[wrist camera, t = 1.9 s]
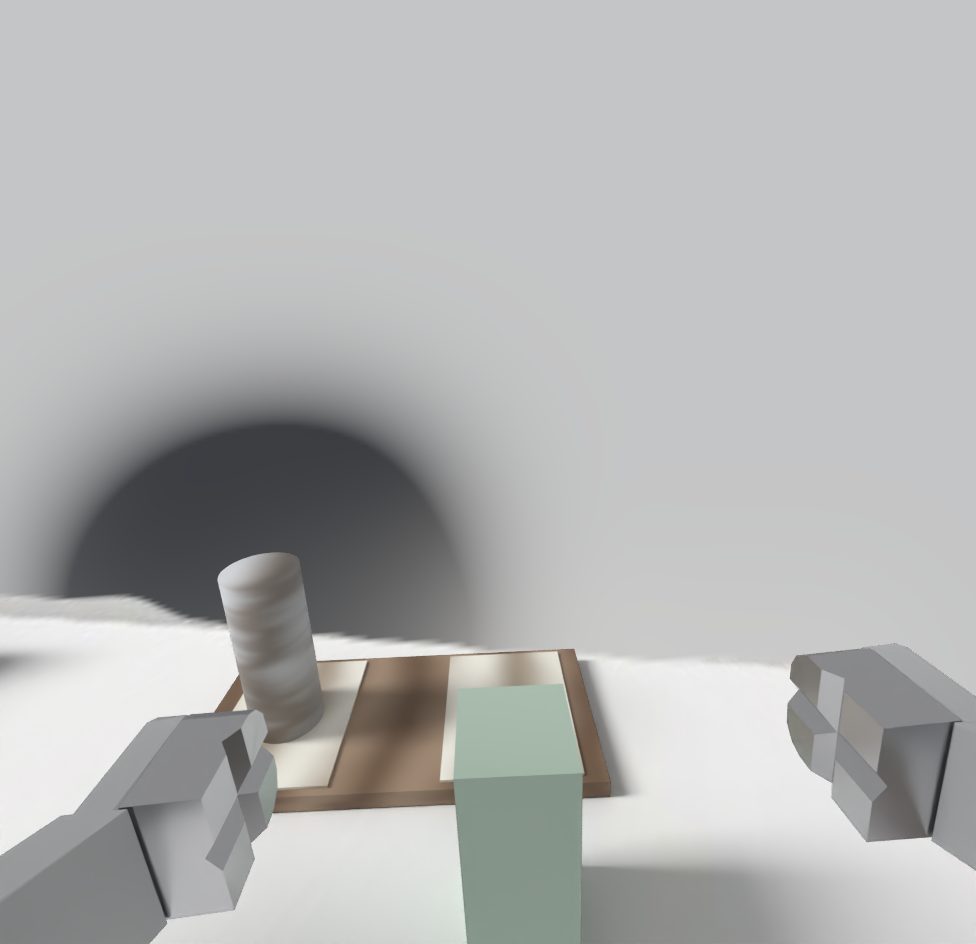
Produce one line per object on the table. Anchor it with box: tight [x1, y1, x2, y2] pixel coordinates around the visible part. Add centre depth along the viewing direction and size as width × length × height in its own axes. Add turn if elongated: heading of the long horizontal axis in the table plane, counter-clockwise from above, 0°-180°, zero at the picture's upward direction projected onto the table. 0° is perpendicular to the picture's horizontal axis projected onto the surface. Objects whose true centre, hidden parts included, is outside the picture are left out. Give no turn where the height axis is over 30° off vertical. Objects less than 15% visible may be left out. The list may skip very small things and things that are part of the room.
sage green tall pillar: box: [453, 684, 583, 944], centre depth 24 cm, size 5×5×12 cm
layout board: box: [214, 553, 610, 813], centre depth 36 cm, size 28×13×13 cm, turn 91°
